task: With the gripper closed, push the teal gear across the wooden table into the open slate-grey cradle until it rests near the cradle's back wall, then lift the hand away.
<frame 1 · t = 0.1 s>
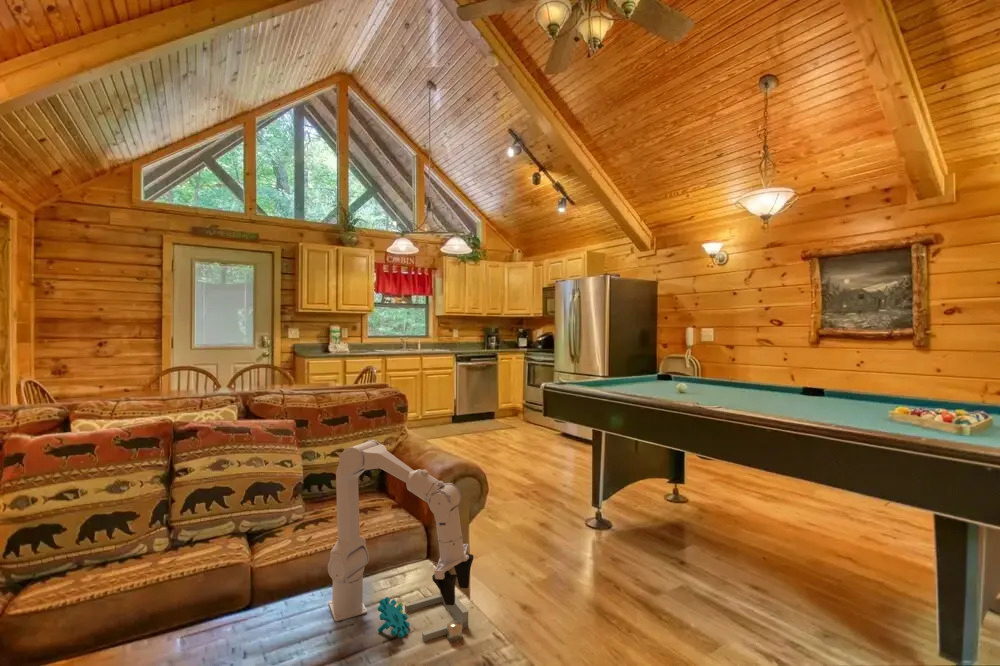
hand: (457, 595, 113), 11 cm above the table, tool pointing down, fingers open, 7 cm apart
gear: (394, 632, 116), on the table
bushing: (454, 637, 114), on the table
cradle: (434, 618, 121), on the table
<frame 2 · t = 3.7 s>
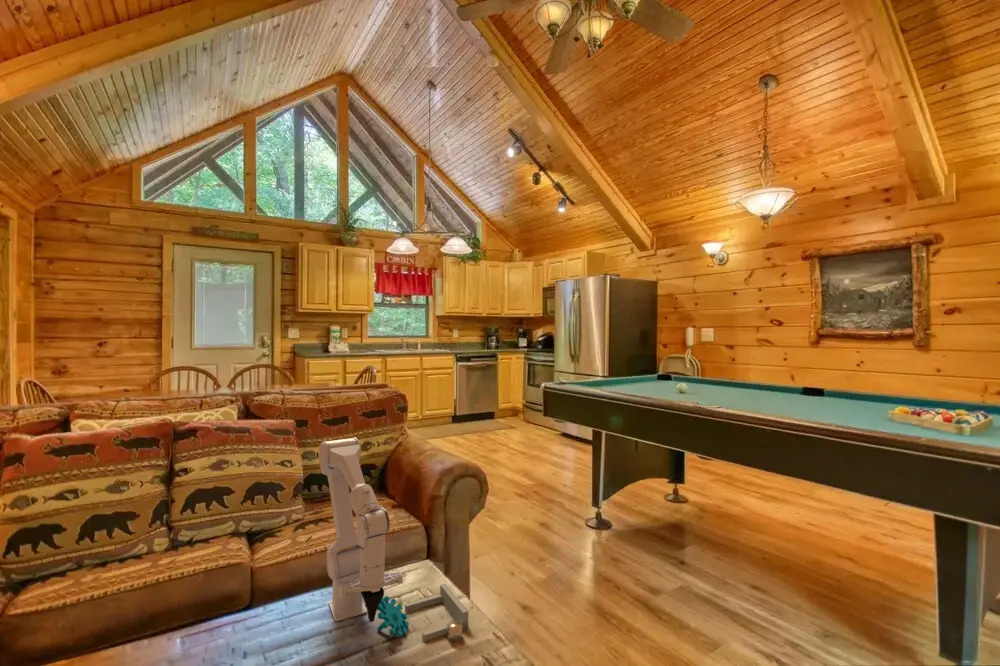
hand: (371, 619, 113), 4 cm above the table, tool pointing down, fingers closed
gear: (393, 631, 116), on the table, touching gripper
everything else where it was.
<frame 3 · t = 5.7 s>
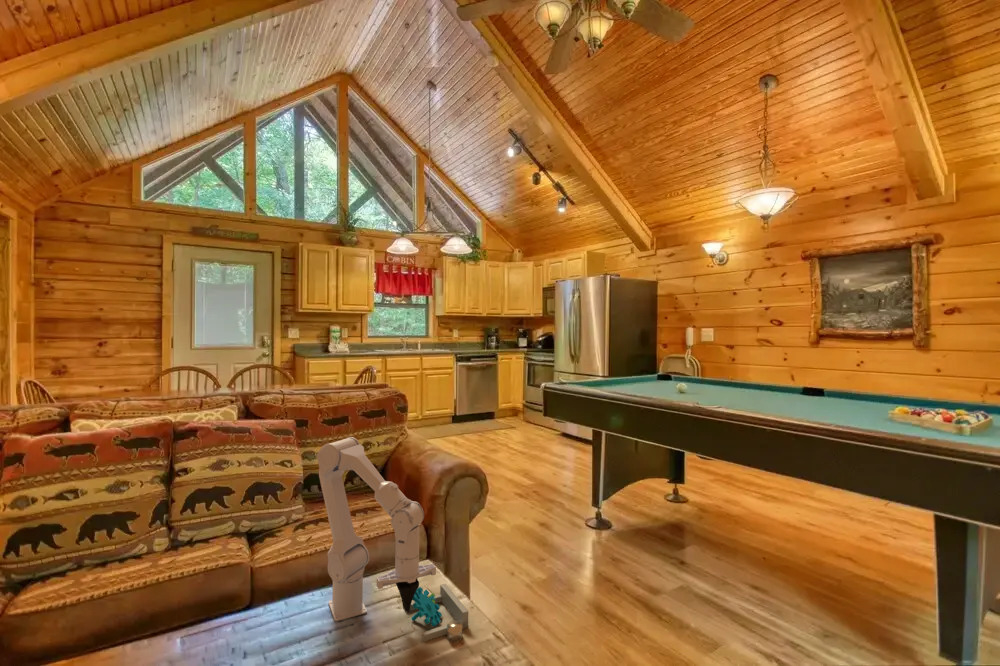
hand: (406, 609, 117), 4 cm above the table, tool pointing down, fingers closed
gear: (426, 620, 120), on the table, touching gripper
everything else where it was.
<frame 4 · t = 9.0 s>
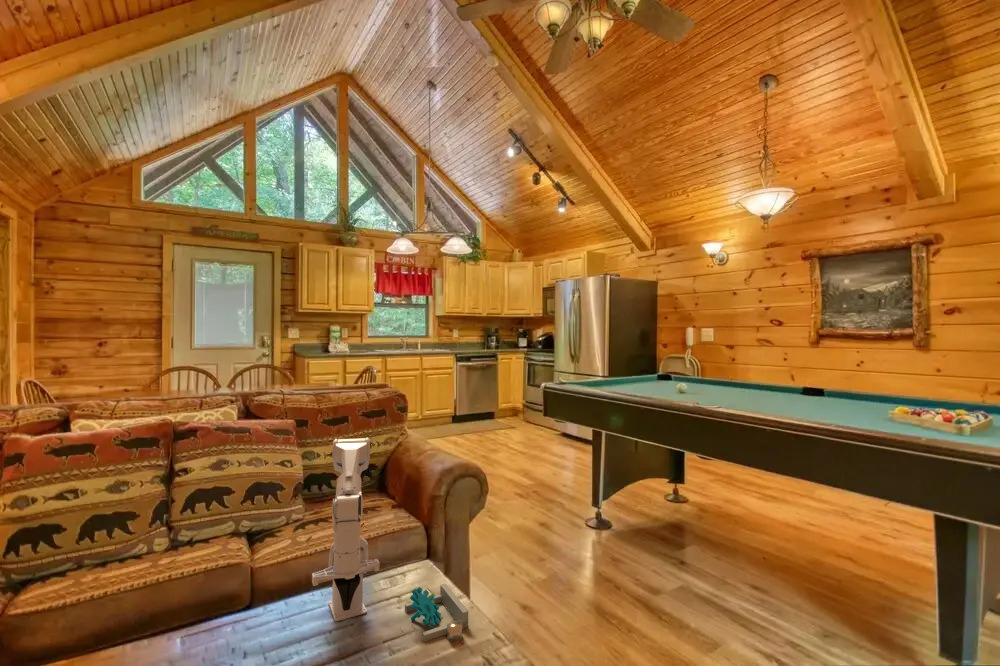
hand: (346, 608, 108), 10 cm above the table, tool pointing down, fingers closed
gear: (425, 621, 120), on the table
everything else where it was.
at the end: gear inside the target area (1.9 cm from its centre), on the table; gear moved 8.4 cm from its start; gear tilted 0° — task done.
